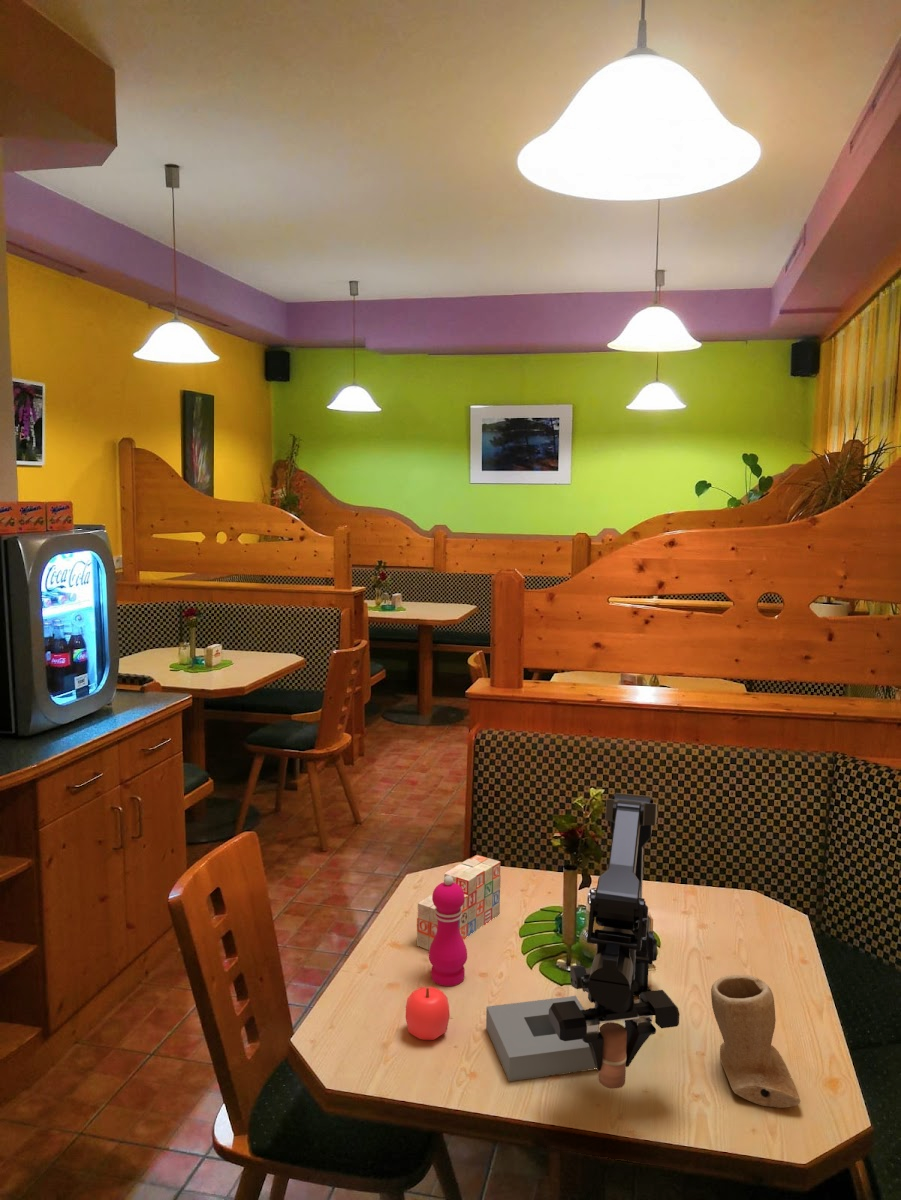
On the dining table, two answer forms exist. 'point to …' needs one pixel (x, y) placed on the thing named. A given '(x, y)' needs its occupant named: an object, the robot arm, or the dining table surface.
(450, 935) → the pepper mill
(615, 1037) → the peg
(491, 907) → the stack of blocks
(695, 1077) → the dining table surface
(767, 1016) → the clay pipe bowl
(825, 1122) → the dining table surface
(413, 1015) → the apple
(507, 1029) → the hole block
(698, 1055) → the dining table surface
